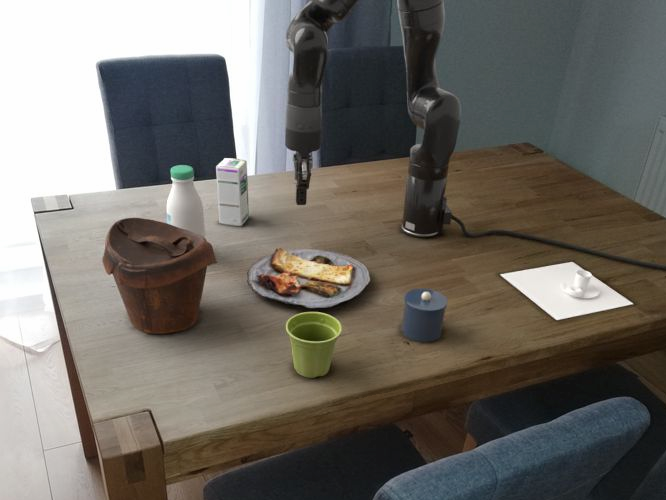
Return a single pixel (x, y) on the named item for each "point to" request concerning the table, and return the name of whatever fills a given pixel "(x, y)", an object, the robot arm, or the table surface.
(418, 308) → the sugar pot
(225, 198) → the syrup box
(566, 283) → the teacup and saucer
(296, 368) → the plant pot
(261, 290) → the food plate
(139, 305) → the brown covered bucket
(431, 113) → the robot arm
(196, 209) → the milk bottle
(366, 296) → the table surface
